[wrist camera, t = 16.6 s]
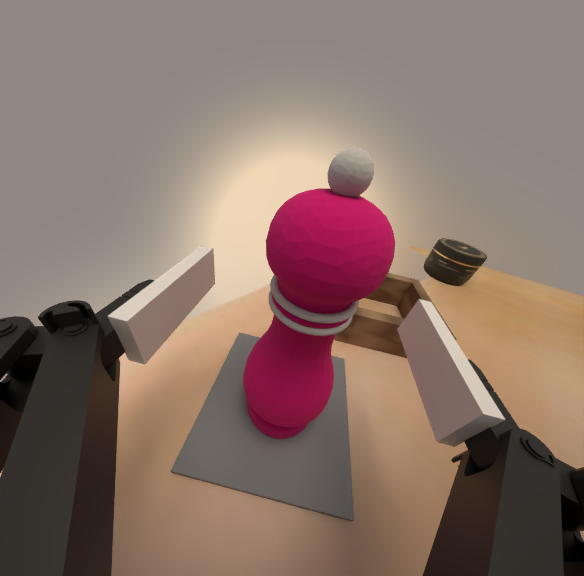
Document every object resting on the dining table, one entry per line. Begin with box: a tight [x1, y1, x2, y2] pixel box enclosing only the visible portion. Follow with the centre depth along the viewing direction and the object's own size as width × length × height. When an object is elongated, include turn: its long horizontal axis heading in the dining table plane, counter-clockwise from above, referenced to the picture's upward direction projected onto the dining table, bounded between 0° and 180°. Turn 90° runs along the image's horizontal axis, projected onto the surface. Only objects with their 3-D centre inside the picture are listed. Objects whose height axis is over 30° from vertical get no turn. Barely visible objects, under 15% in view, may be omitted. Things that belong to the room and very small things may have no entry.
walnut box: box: [335, 273, 456, 358], centre depth 31 cm, size 13×13×5 cm
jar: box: [424, 238, 487, 285], centre depth 48 cm, size 10×10×8 cm
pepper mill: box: [243, 148, 395, 439], centre depth 13 cm, size 7×7×20 cm
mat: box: [171, 333, 354, 521], centre depth 19 cm, size 13×13×1 cm
